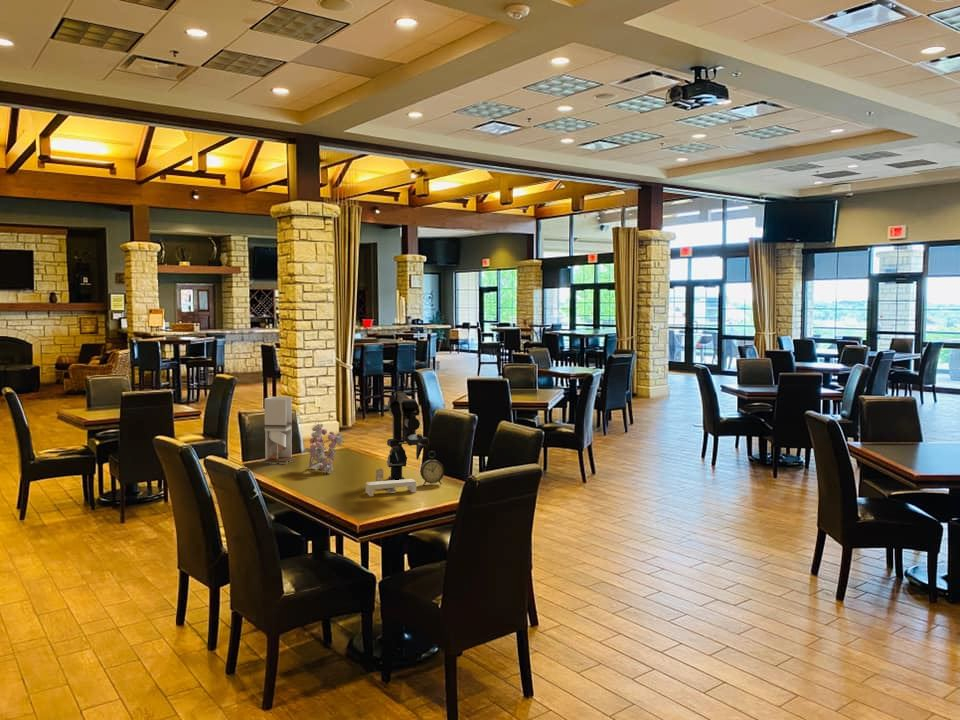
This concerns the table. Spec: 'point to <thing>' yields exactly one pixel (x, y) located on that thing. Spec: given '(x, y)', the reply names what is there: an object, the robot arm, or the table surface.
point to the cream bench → (390, 485)
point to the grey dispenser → (278, 429)
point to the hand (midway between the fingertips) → (407, 460)
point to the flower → (322, 448)
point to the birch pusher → (380, 476)
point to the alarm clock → (432, 471)
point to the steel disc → (390, 491)
